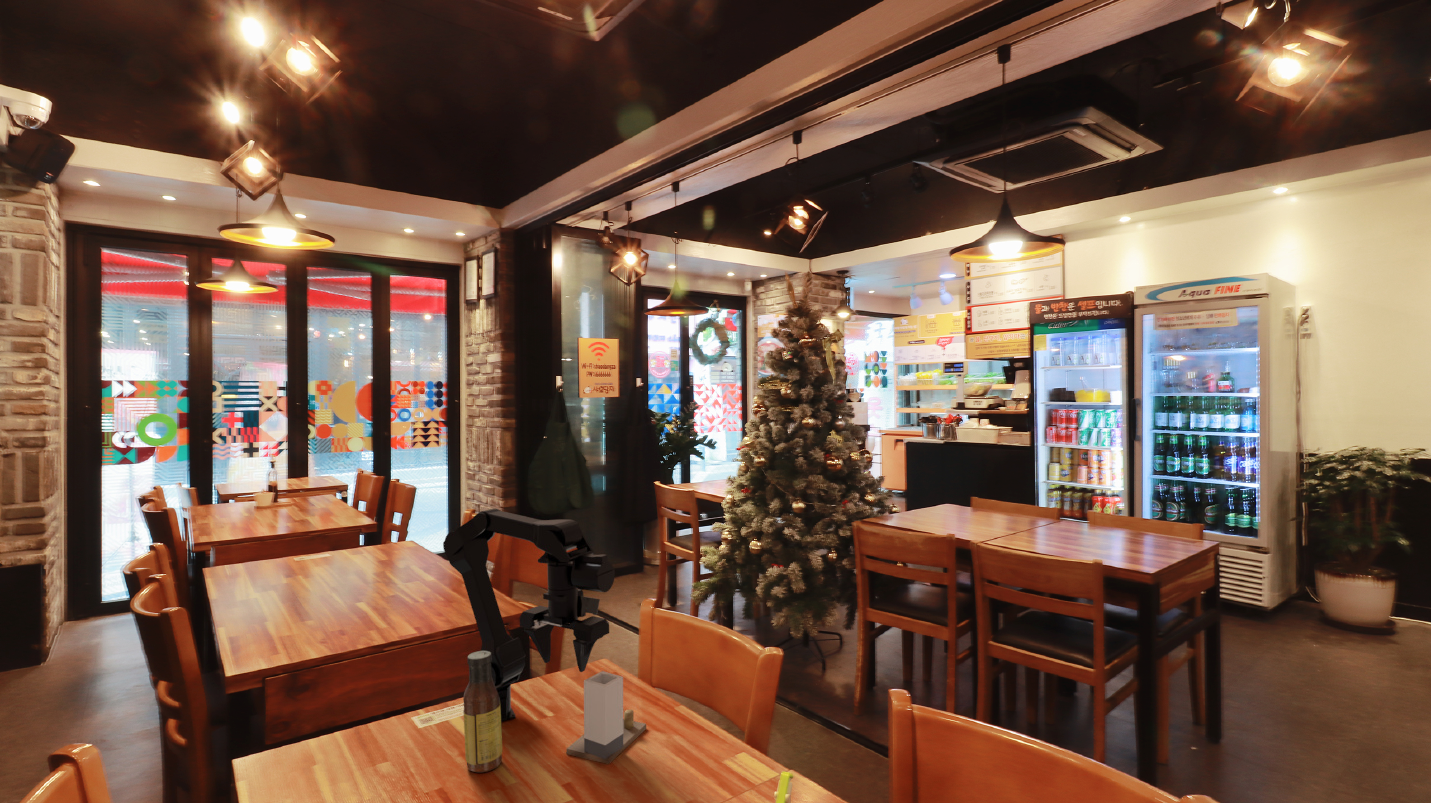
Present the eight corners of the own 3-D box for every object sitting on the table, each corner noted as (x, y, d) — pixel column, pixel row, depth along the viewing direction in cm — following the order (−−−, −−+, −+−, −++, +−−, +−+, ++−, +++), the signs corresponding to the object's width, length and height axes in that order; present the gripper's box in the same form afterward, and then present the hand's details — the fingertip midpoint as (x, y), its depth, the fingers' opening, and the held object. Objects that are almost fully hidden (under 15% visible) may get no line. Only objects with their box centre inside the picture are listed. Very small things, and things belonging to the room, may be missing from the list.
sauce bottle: (507, 756, 126) (507, 648, 125) (493, 775, 119) (492, 661, 119) (473, 755, 126) (472, 647, 126) (457, 773, 120) (456, 660, 120)
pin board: (566, 754, 127) (566, 732, 127) (606, 720, 139) (606, 700, 139) (608, 764, 123) (608, 741, 123) (646, 728, 136) (646, 708, 136)
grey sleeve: (584, 751, 125) (583, 680, 125) (602, 739, 130) (602, 671, 130) (605, 759, 123) (604, 686, 123) (623, 747, 127) (623, 676, 127)
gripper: (626, 582, 136) (628, 661, 136) (557, 571, 146) (558, 645, 146) (588, 597, 126) (590, 682, 126) (516, 584, 136) (518, 663, 136)
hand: (564, 666), depth 134 cm, fingers open, 9 cm apart
